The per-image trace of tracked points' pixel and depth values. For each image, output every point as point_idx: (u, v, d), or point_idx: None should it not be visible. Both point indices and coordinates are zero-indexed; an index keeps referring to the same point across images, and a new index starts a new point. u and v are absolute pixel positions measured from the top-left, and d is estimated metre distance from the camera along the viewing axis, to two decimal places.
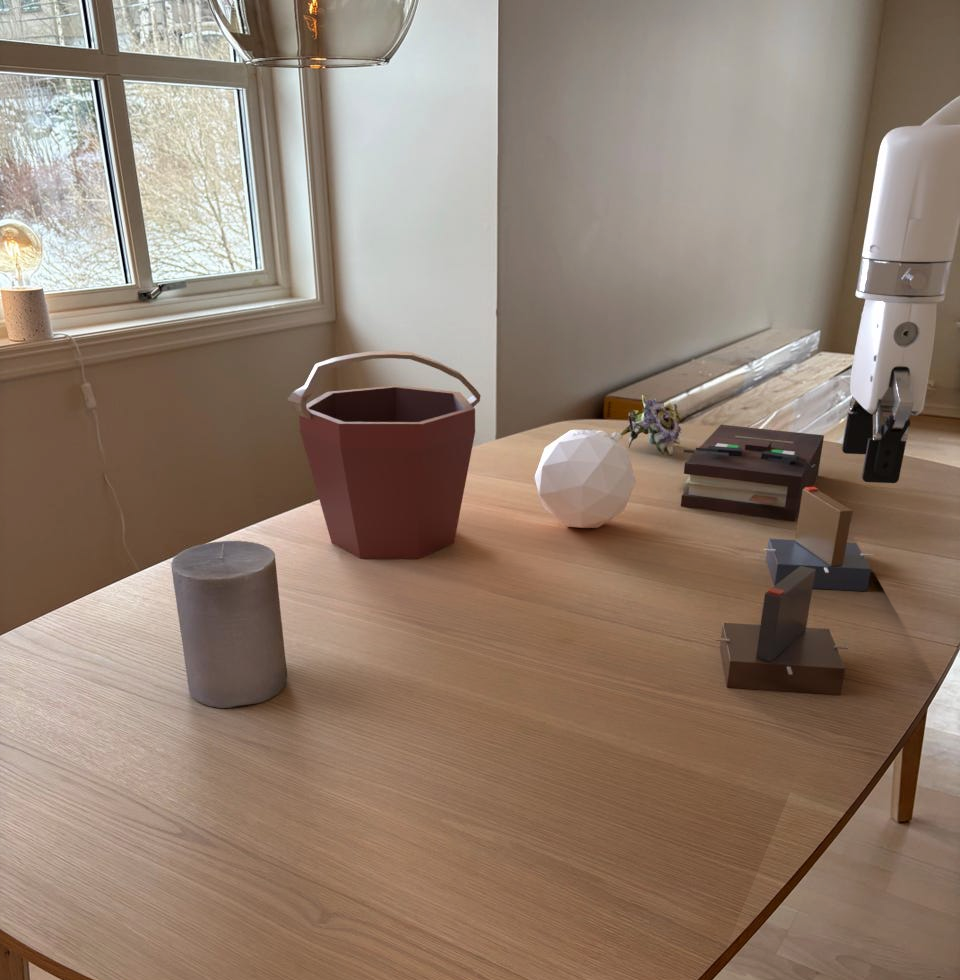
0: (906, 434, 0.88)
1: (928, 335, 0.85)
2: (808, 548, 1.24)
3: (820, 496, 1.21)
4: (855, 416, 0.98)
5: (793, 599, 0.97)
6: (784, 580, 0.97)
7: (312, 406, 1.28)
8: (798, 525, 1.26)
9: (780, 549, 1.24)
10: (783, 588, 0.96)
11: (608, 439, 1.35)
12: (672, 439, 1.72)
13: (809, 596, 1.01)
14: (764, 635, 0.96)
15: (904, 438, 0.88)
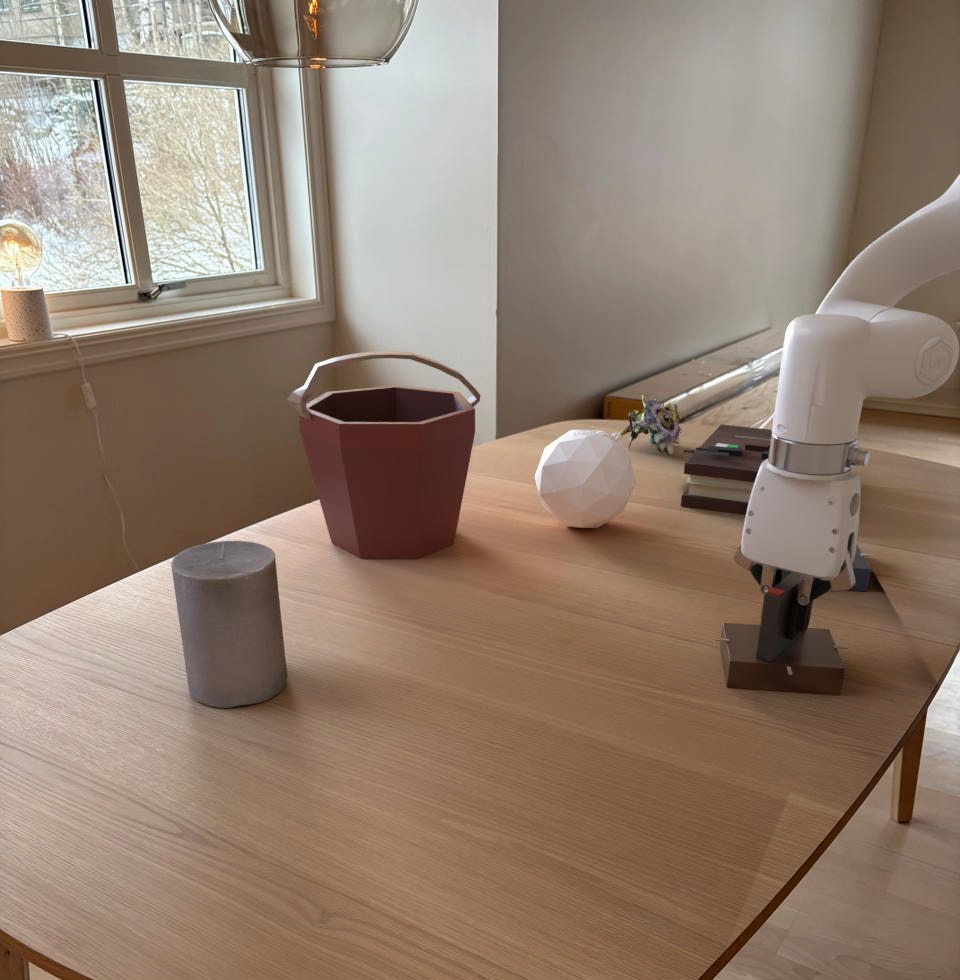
0: None
1: None
2: None
3: None
4: None
5: (793, 599, 0.97)
6: (784, 580, 0.97)
7: (312, 406, 1.28)
8: None
9: None
10: (783, 588, 0.96)
11: (608, 439, 1.35)
12: (672, 439, 1.72)
13: None
14: (764, 635, 0.96)
15: None
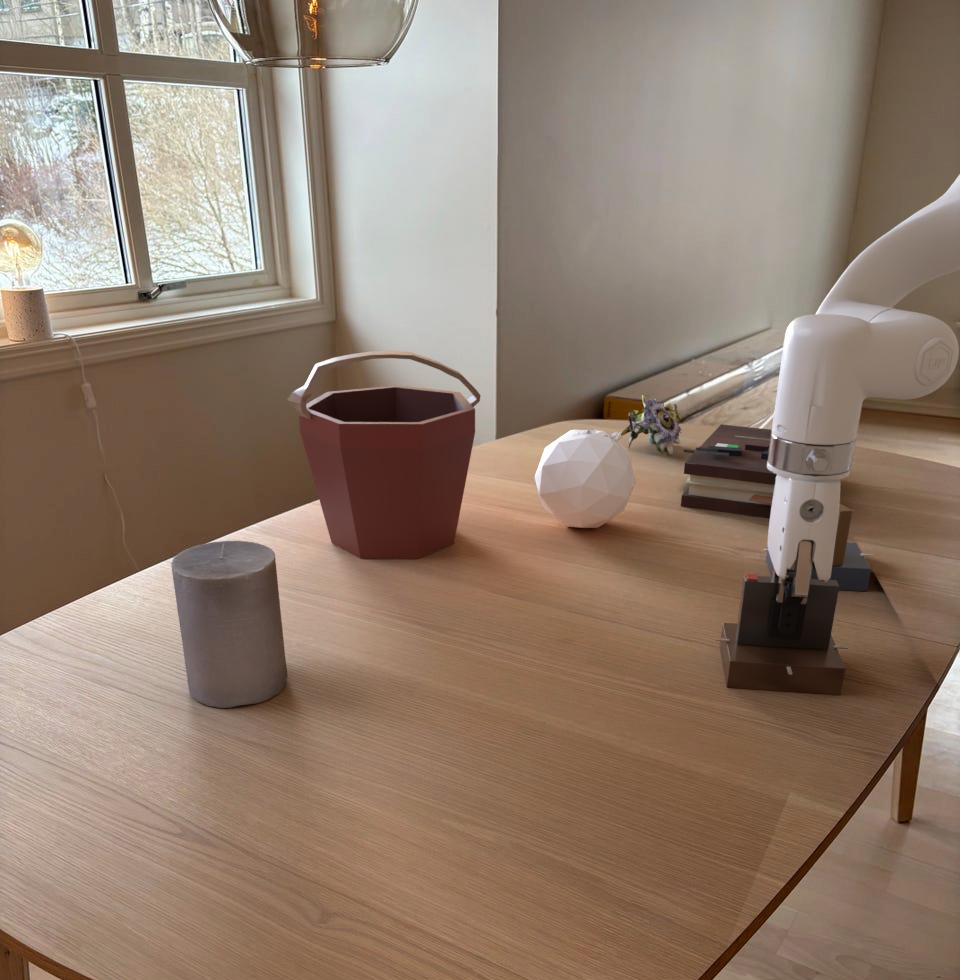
0: (804, 603, 0.96)
1: (832, 512, 0.89)
2: None
3: None
4: None
5: None
6: None
7: (312, 406, 1.28)
8: None
9: None
10: (767, 580, 0.97)
11: (608, 439, 1.35)
12: (672, 439, 1.72)
13: (828, 612, 0.97)
14: (739, 617, 1.00)
15: (802, 605, 0.96)
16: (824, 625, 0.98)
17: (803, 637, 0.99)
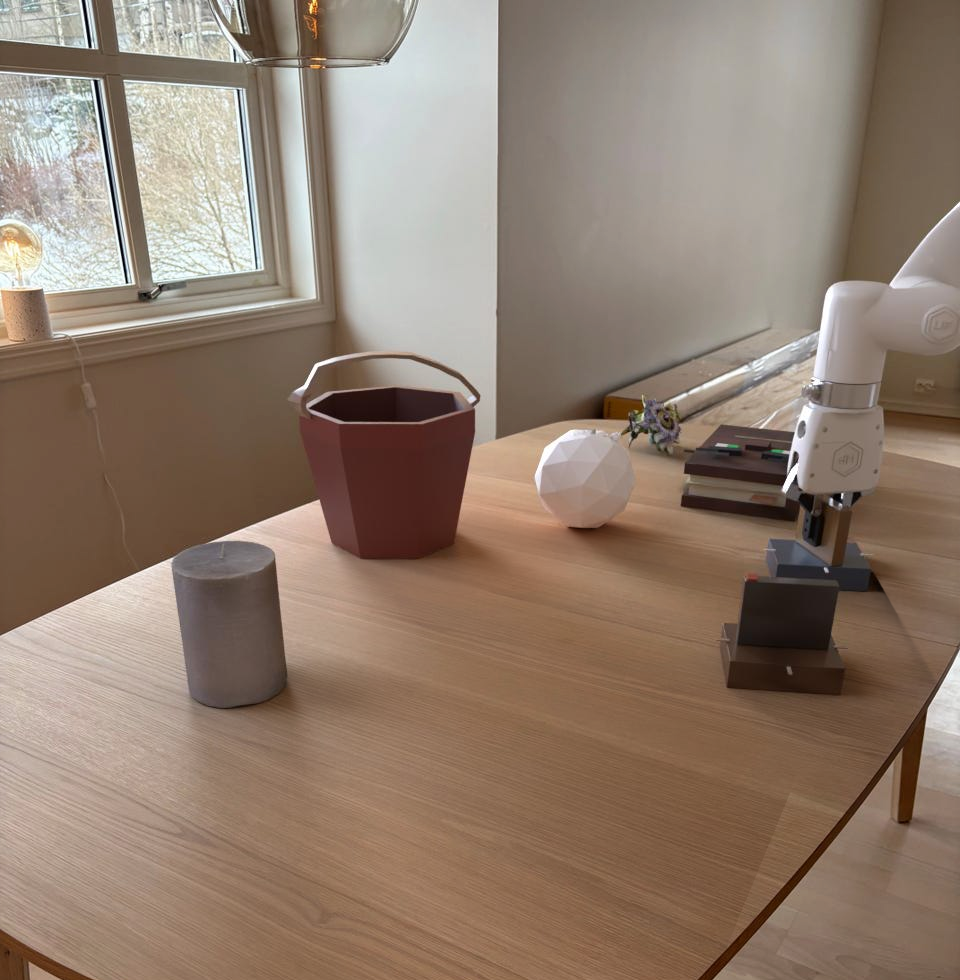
0: (811, 513, 1.19)
1: (810, 433, 1.14)
2: (808, 548, 1.24)
3: None
4: None
5: (781, 597, 0.97)
6: (786, 578, 0.98)
7: (312, 406, 1.28)
8: (798, 525, 1.26)
9: (780, 549, 1.24)
10: (767, 580, 0.97)
11: (608, 439, 1.35)
12: (672, 439, 1.72)
13: (828, 612, 0.97)
14: (739, 617, 1.00)
15: (813, 515, 1.20)
16: (824, 625, 0.98)
17: (803, 637, 0.99)
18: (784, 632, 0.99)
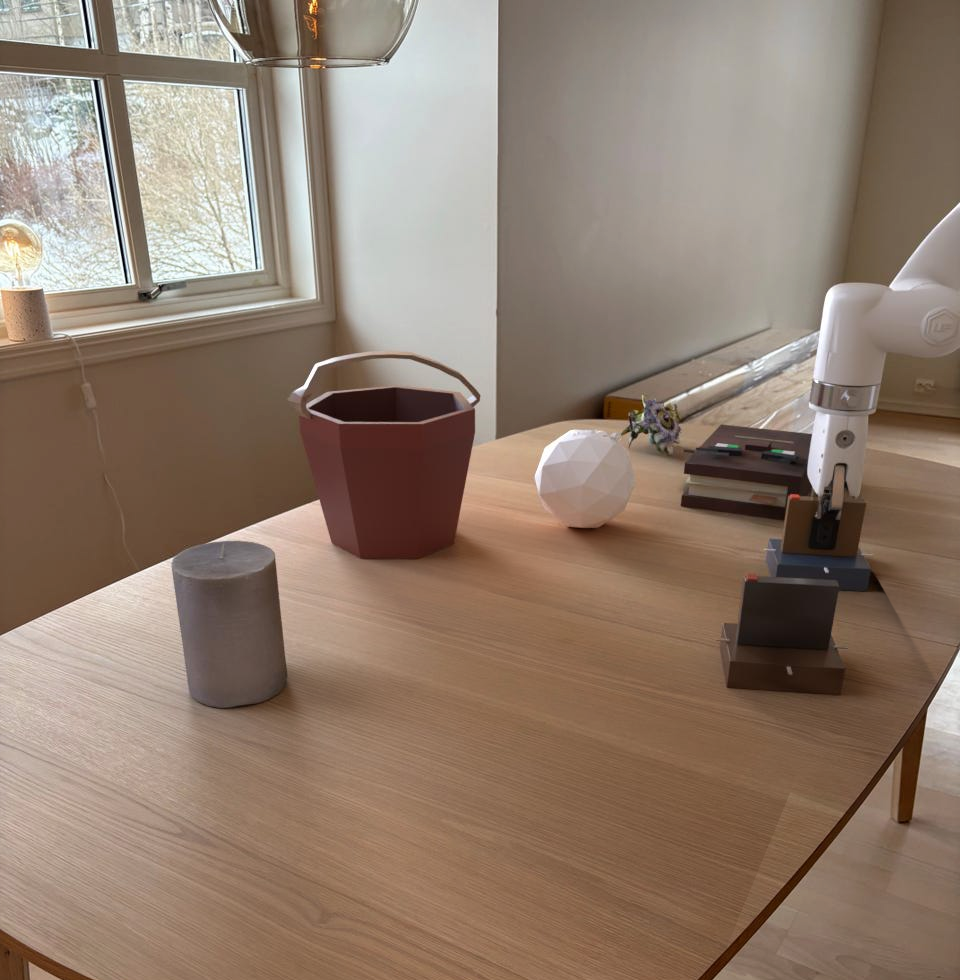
0: (839, 518, 1.18)
1: (861, 440, 1.12)
2: (810, 552, 1.23)
3: None
4: None
5: (781, 597, 0.97)
6: (786, 578, 0.98)
7: (312, 406, 1.28)
8: (787, 536, 1.22)
9: (780, 549, 1.24)
10: (767, 580, 0.97)
11: (608, 439, 1.35)
12: (672, 439, 1.72)
13: (828, 612, 0.97)
14: (739, 617, 1.00)
15: (837, 520, 1.19)
16: (824, 625, 0.98)
17: (803, 637, 0.99)
18: (784, 632, 0.99)
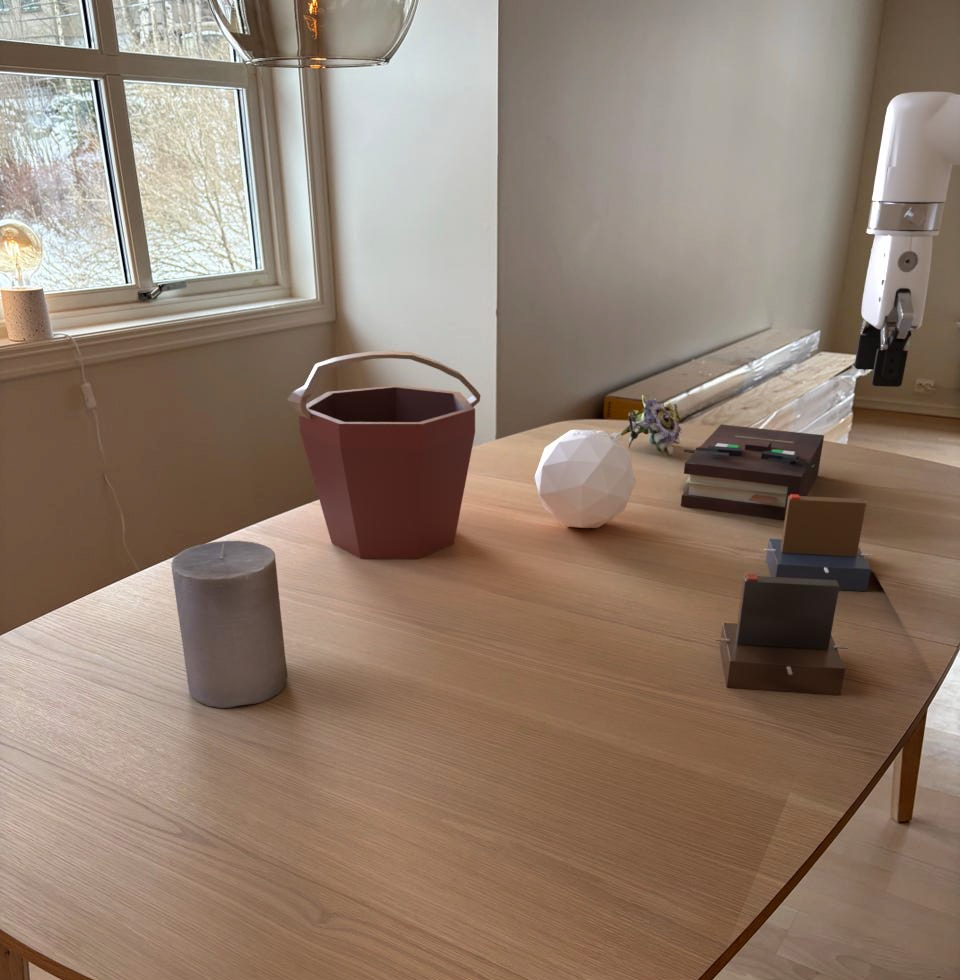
0: (908, 344, 1.08)
1: (925, 262, 1.06)
2: (810, 552, 1.23)
3: (818, 499, 1.20)
4: (865, 337, 1.19)
5: (781, 597, 0.97)
6: (786, 578, 0.98)
7: (312, 406, 1.28)
8: (787, 536, 1.22)
9: (780, 549, 1.24)
10: (767, 580, 0.97)
11: (608, 439, 1.35)
12: (672, 439, 1.72)
13: (828, 612, 0.97)
14: (739, 617, 1.00)
15: (906, 348, 1.09)
16: (824, 625, 0.98)
17: (803, 637, 0.99)
18: (784, 632, 0.99)
